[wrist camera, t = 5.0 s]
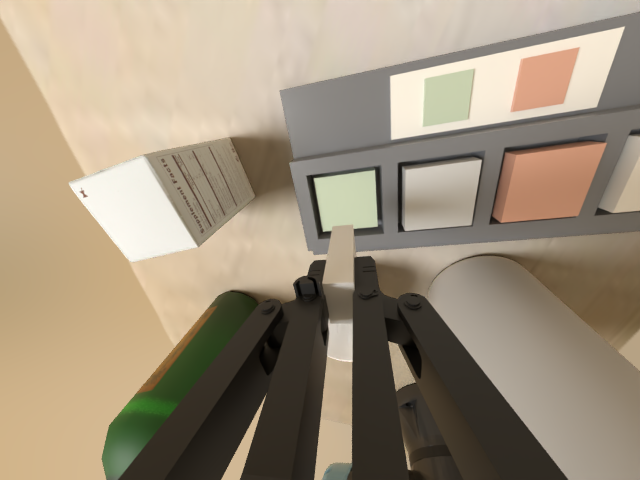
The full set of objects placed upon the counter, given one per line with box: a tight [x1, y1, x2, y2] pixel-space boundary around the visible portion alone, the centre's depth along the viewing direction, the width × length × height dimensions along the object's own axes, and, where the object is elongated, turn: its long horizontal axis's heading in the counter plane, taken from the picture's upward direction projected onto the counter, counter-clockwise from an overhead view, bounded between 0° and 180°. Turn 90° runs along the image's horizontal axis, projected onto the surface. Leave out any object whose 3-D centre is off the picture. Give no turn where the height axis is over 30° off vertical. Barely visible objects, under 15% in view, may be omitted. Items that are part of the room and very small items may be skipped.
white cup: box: [327, 321, 353, 362], centre depth 29 cm, size 8×8×10 cm
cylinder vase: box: [428, 256, 640, 480], centre depth 20 cm, size 12×12×25 cm
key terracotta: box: [492, 141, 607, 223], centre depth 20 cm, size 6×6×2 cm
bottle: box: [102, 292, 258, 480], centre depth 27 cm, size 11×11×28 cm
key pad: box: [280, 12, 640, 255], centre depth 22 cm, size 18×36×4 cm, turn 99°
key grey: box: [402, 157, 482, 231], centre depth 21 cm, size 6×6×2 cm
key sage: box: [314, 167, 378, 232], centre depth 24 cm, size 6×6×2 cm
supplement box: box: [69, 138, 255, 262], centre depth 22 cm, size 7×7×13 cm
